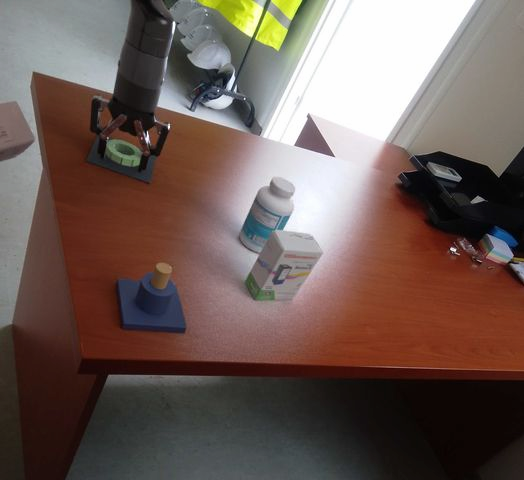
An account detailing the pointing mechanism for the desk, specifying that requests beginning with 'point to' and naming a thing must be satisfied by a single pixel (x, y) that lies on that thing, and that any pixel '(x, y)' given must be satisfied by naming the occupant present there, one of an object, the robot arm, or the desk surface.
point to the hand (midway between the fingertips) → (121, 163)
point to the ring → (121, 158)
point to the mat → (119, 168)
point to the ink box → (283, 265)
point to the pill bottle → (268, 213)
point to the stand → (151, 302)
